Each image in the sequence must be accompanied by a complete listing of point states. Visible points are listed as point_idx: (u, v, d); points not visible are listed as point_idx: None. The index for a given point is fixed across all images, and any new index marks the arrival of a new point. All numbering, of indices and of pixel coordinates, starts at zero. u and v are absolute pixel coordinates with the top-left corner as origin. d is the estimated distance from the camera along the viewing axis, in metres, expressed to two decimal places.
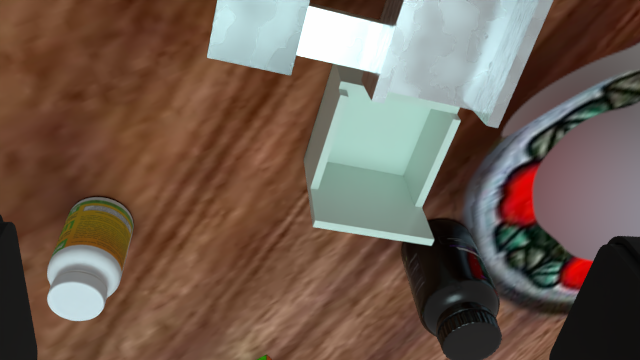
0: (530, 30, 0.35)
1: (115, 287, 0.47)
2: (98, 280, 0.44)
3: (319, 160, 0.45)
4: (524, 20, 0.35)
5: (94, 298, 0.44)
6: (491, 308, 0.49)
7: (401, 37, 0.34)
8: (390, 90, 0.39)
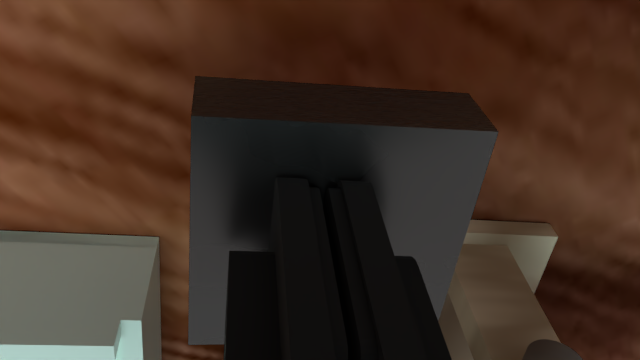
0: None
1: None
2: None
3: None
4: None
5: None
6: None
7: None
8: None
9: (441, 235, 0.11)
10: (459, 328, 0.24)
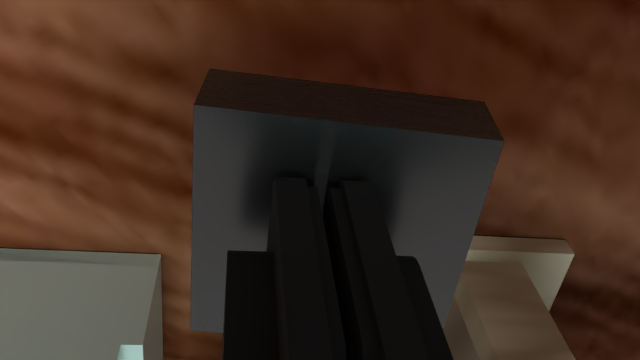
0: None
1: None
2: None
3: None
4: None
5: None
6: None
7: None
8: None
9: (444, 244, 0.11)
10: (470, 347, 0.23)
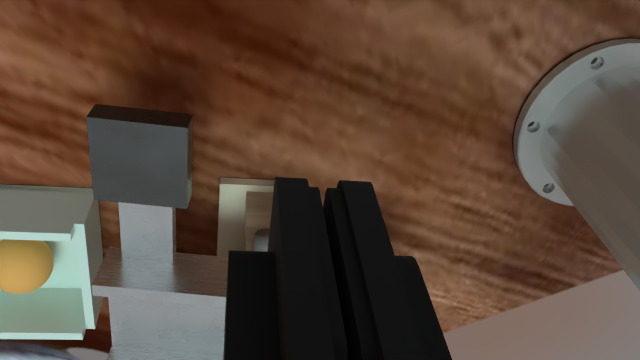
0: None
1: None
2: None
3: None
4: None
5: None
6: None
7: (164, 298, 0.35)
8: None
9: (178, 164, 0.32)
10: None
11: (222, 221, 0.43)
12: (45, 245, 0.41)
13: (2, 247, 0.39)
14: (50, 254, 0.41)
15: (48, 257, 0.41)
